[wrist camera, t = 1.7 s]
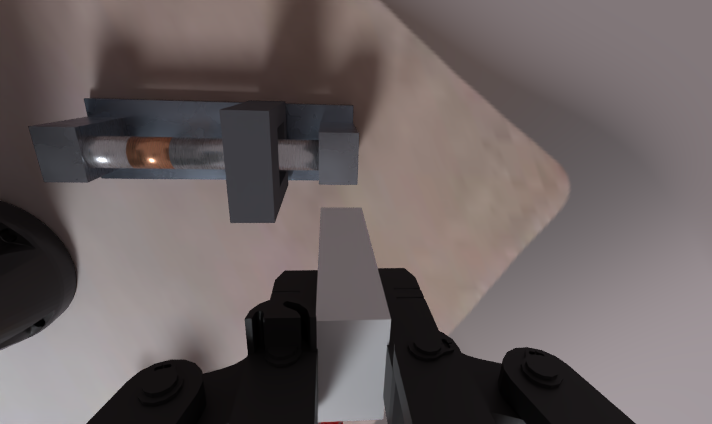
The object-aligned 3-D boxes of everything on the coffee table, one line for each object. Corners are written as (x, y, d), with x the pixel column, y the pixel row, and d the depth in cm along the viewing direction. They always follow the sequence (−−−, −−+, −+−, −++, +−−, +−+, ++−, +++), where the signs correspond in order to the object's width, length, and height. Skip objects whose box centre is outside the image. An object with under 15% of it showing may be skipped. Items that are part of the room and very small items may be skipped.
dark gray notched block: (255, 184, 33) (230, 222, 24) (249, 100, 31) (219, 109, 22) (288, 184, 34) (274, 222, 25) (285, 101, 31) (268, 111, 22)
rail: (106, 176, 33) (49, 201, 27) (89, 98, 31) (21, 103, 24) (350, 178, 35) (356, 202, 29) (352, 105, 33) (359, 112, 26)
